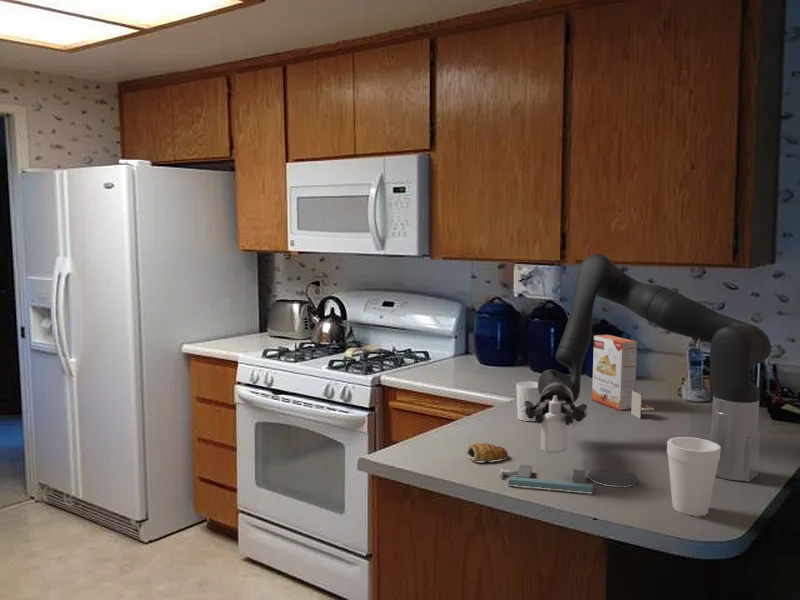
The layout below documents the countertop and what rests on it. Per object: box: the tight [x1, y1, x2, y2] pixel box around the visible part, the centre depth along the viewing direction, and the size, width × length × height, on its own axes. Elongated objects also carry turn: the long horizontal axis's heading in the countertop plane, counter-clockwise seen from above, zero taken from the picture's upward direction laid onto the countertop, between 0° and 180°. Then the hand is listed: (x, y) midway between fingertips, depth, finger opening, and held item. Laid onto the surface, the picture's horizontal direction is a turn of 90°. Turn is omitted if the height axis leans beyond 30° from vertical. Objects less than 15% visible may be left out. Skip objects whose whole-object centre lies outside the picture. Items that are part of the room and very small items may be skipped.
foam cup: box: [666, 436, 721, 517], centre depth 140 cm, size 10×9×13 cm
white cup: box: [515, 381, 541, 422], centre depth 206 cm, size 8×8×10 cm
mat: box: [588, 468, 638, 486], centre depth 157 cm, size 10×10×1 cm
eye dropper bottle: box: [540, 395, 568, 454], centre depth 155 cm, size 4×6×12 cm
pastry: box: [466, 442, 509, 462], centre depth 170 cm, size 9×7×4 cm
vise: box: [498, 464, 594, 494], centre depth 155 cm, size 19×10×2 cm, turn 76°
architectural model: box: [630, 391, 654, 420], centre depth 210 cm, size 3×7×7 cm, turn 9°
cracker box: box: [591, 334, 638, 411], centre depth 223 cm, size 14×6×21 cm, turn 21°
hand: (553, 419), depth 152 cm, fingers closed on eye dropper bottle, 5 cm apart
